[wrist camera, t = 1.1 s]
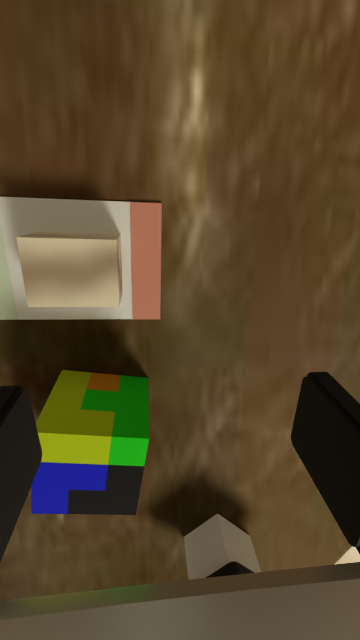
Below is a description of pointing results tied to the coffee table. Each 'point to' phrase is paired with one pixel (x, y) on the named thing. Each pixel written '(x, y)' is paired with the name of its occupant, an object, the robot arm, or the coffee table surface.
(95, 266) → the birch block
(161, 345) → the coffee table surface
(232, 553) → the black-topped pedestal
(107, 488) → the puzzle toy
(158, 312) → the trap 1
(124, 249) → the lane
